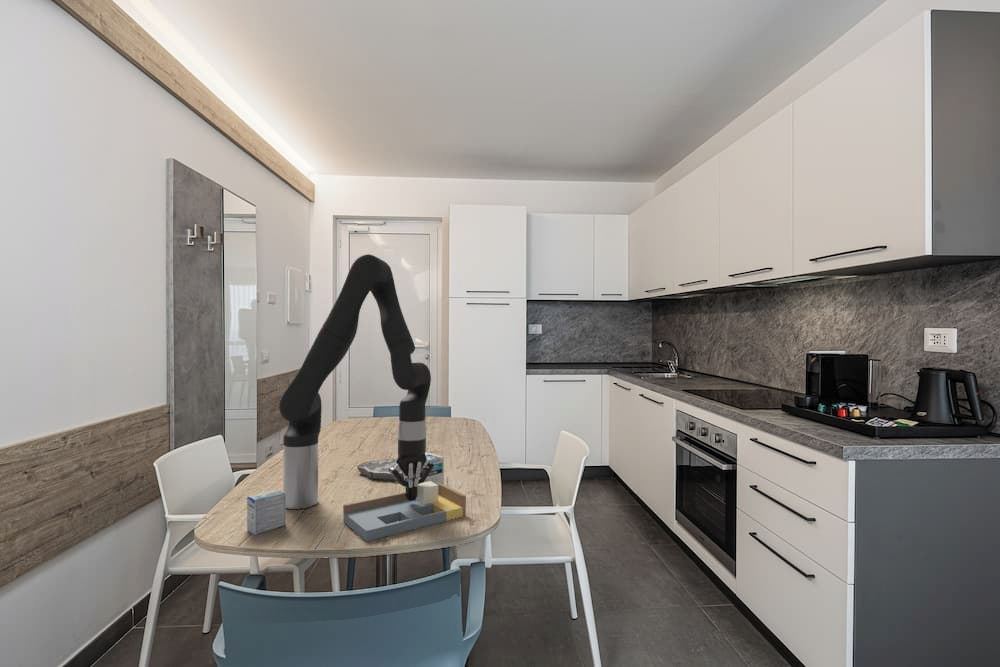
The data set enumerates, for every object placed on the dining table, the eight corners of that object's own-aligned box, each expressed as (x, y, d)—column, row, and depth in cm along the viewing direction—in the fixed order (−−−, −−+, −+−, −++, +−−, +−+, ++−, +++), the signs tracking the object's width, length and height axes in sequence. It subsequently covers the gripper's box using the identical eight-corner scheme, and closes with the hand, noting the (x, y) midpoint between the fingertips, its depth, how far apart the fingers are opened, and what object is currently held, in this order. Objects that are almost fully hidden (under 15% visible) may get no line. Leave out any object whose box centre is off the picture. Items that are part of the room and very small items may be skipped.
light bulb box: (444, 491, 159) (444, 456, 159) (427, 496, 154) (427, 460, 154) (422, 483, 166) (423, 450, 166) (405, 488, 161) (406, 454, 161)
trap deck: (343, 521, 133) (343, 500, 133) (437, 500, 150) (437, 481, 150) (366, 541, 121) (366, 518, 121) (465, 515, 138) (465, 495, 138)
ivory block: (415, 500, 143) (416, 483, 143) (430, 496, 146) (430, 481, 146) (423, 504, 139) (423, 488, 139) (438, 501, 142) (438, 485, 142)
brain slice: (425, 472, 180) (425, 463, 180) (394, 485, 165) (394, 476, 165) (381, 464, 189) (382, 456, 189) (348, 476, 174) (348, 467, 174)
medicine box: (277, 521, 133) (277, 488, 133) (286, 526, 130) (286, 492, 130) (246, 530, 127) (246, 496, 127) (254, 535, 124) (255, 500, 124)
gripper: (427, 431, 147) (426, 491, 147) (383, 436, 139) (382, 500, 139) (440, 436, 141) (439, 499, 141) (395, 442, 133) (394, 508, 133)
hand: (411, 499), depth 140 cm, fingers closed
